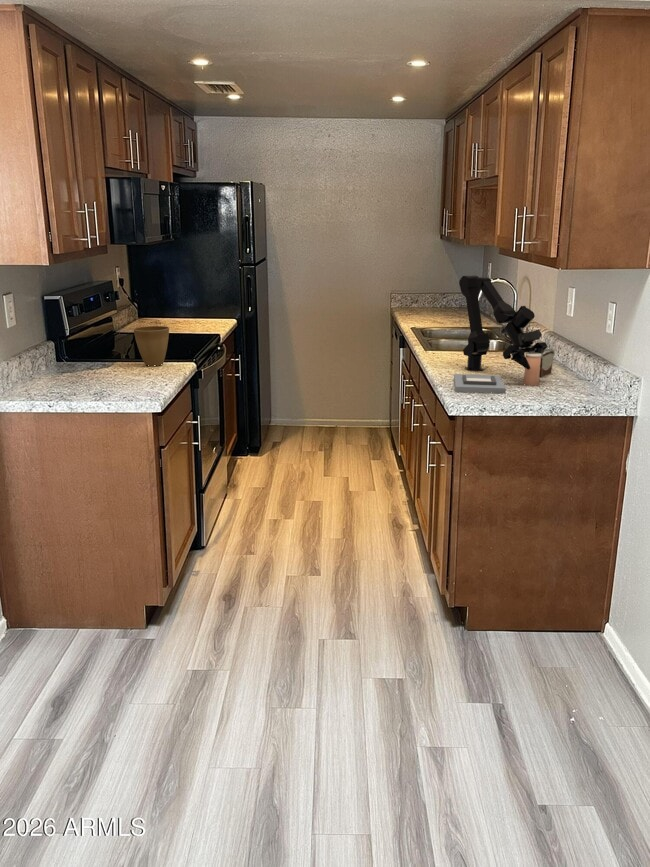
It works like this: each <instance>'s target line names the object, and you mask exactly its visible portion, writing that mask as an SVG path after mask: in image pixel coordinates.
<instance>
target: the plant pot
mask: <svg viewBox="0 0 650 867" xmlns="http://www.w3.org/2000/svg"><path fill="white" fill-rule="evenodd" d="M133 333H134V338H135V342H136V345H137V346H136V347H137V349H138V351H139V354H140V356H141V359H142V362H143V363H144V366H145V365H149V366H154V365H161V364H163V365H164V361H165V359H166V354H167V350H168V343H169V336H170V327H169V326H165V325H164V326H163V325H148V326H138V327H134V328H133ZM149 366H148V367H149ZM161 366H162V365H161Z"/></svg>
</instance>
